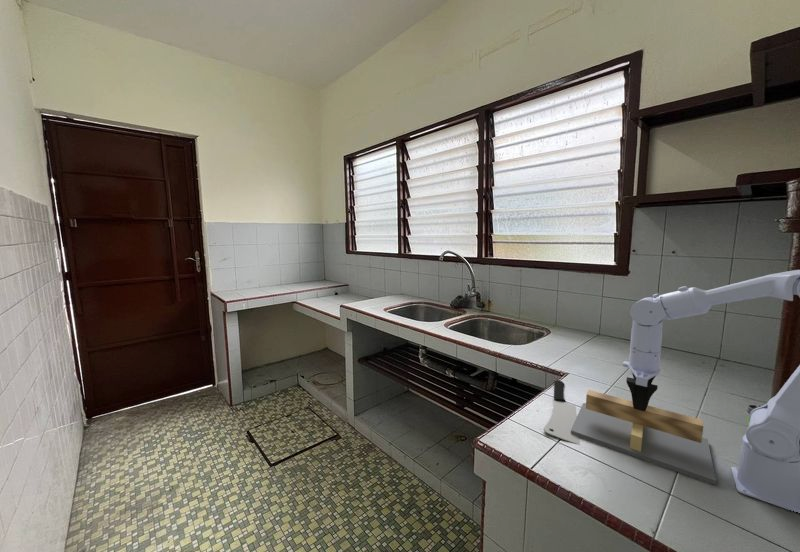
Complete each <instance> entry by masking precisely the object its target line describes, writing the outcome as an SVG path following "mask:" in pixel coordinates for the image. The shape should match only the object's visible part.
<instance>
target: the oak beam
mask: <svg viewBox="0 0 800 552" xmlns="http://www.w3.org/2000/svg"><path fill="white" fill-rule="evenodd" d="M585 399H586V400H585V403H586V409H589V410H592V411H595V412H599V413H602V414H605V415H609V416H612V417H615V418H619V419H622V420H625V421H629V422H632V423H635V424H639V425H642V426H645V427H649V428H652V429H655V430H659V431H662V432H665V433H669V434H672V435H675V436H679V437H682V438H685V439H689V440H692V441H695V442H699V443H701V442H702V438H703V432H704V422H703V419H700V418H696V417H693V416H689V415H686V414H682V413H678V412H674V411H670V410H667V409H663V408H659V407H655V406H652V405H648V406H647V408H646V410H645V411H641V410H637V409H634V407H633V402H632V400H629V399H626V398H621V397H617V396H614V395H611V394H610V395H609V394H606V393H602V392H598V391H595V390H591V389H588V391H587V392H586V398H585Z"/></svg>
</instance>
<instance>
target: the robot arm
mask: <svg viewBox="0 0 800 552" xmlns="http://www.w3.org/2000/svg"><path fill="white" fill-rule="evenodd" d="M794 295H796V296H798V297H799V298H800V269H794V270H788V271H783V272H777V273H771V274H767V275H766V274H765V275H764V276H758V277H755V278H750V279H747V280H743V281H739V282H735V283H731V284H728V285H727V284H726V285H724V286H720V287H719V286H718V287H716V288H712V289H708V290H705V289H702V288H698V287H694V286H692V287H688V286H687V285H685V286H680V287H677V290H676V291H670V292H667V293H662V294H660V293H655V294H652V296H649V297H643V298H642V299H640V300H638V301H636V302H634V303H633V304H632V305H631V307H630V309H629V315H630V317H631V319H632V323H631V325H632V327H631V329H630V330H631V331H630V332H631V333H630V345H629V355H628V356H629V357H628V361H626V360H625V361H624V360H623V362H622V367H626V368H628V370H629V371H630V372H631V375H632V377H628V376H626V380H625V381H626V384H627V386H628V388H629V392H630V395H631V401H632V402H633V407H634V409H637V410H641V411H645V410H646V408H647V406H649V402H650V400H651V397H652V396H653V395H654V393H656V391H657V390H658V387H659V386H658V385H657V384H653V381H654V379H655V378H656V377H657V375H660V373H661V368H660V366H661V365H660V363H661V355H662V354H661V353H662V343H663V342H662V341H663V325H664V323H663V322H664V321H663V320H668V321H672V320H676V319H684V318H688V317H693V316H699V315H705V314H707V313H708V312H709V311H710V309H711V308H712V306H717V305H722V304H728V303H729V304H730V303H735V302H740V301H741V302H742V301H746V300H753V299H759V298H765V297H772V298H776V299H781V300H784V301H789V302H793V301H794ZM739 452H740V453H739V458H738V465H737V466H738V467H736V466H731V467H730V470H731V473H732V477H733V480H734V483H735V488H736V491H737V492H738V493H740V494H743V495H745V496H749V497H751V498H754V499H757V500H759V501H762V502H765V503H768V504H771V505H773V506H777V507H779V508H783V509H786V510H788V511H790V510H791V512H793V511H794V512H793V513H796V512H800V364H799V365H798V367H796V369H795V370H794V372H793V373H792V374H791V375H790V377H789V378H788V379H787V380H786V382H784V384H783V385H782V387H781V388H780V389H779V391H778V392H777V393H776V394H775V396H773V397H772V398H770V399H769V400H768V402H767V403H765V404H764V405H762V406H758V407H755V408H753V410H751V412H750V413H749V424H748V427H747V428H746V431H745V434H743V436H742V440H741V447H740V451H739Z"/></svg>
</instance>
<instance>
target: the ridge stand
mask: <svg viewBox="0 0 800 552" xmlns="http://www.w3.org/2000/svg"><path fill="white" fill-rule="evenodd" d="M571 434H573V435H576V436H578V437H579V438H580V439H583V440H587V441H590V442H593V443H595V444H598V445H601V446H604V447H607V448H609V449H612V450H615V451H617V452H621V453H623V454H627V455H629V456H633V457H634V458H638V459H641V460H643V461H646V462H648V463H652V464H655V465H657V466H660V467H663V468H665V469H669V470H672V471H674V472H677V473H681V474H683V475H685V476H688V477H691V478H694V479H697V480H700V481H702V482H706V483H709V484H711V485H714V486H715V485H716V482H717V479H716V475H715V468H714V464H713V458H712V454H711V449H710V444H709V440H708V438H705V437H702V442H701V443H699V442H695V441H692V440H689V439H685V438H682V437H679V436H675V435H672V434H669V433H665V432H662V431H659V430H655V429H652V428H649V427H645V426H642V425H639V424H635V423H632V422H629V421H625V420H622V419H619V418H615V417H612V416H609V415H605V414H602V413H599V412H595V411H592V410H589V409H586V402H583V403H582V405H581V407H580V409H579V411H578V414H577V418H576V420H575V422H574V424H573V426H572V429H571Z"/></svg>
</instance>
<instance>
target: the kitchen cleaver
mask: <svg viewBox="0 0 800 552" xmlns="http://www.w3.org/2000/svg"><path fill="white" fill-rule="evenodd" d="M565 386H566V384H565V383H564V382H563V381H562V380H557V379H556V380H554V381H553V409H552V414H551V417H550V418H549V421H548V422H547V423H546V424H545V426H544V427H543V431H544V433H546V434H548V435H551V436H553V437H556V438H558V439H561V440H564V441H566V442H569V443H572V444H576V445H578V446H581V441H580V439H581V438H580V437H578V436H576V435H573V434H571V429H572V426H573V424H574V422H575V420H576V418H577V415H578V414H577V408H576V407H577V406H576V405H574V404H571V403H569V402H567V400H566V399H565V397H564V388H565Z"/></svg>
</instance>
